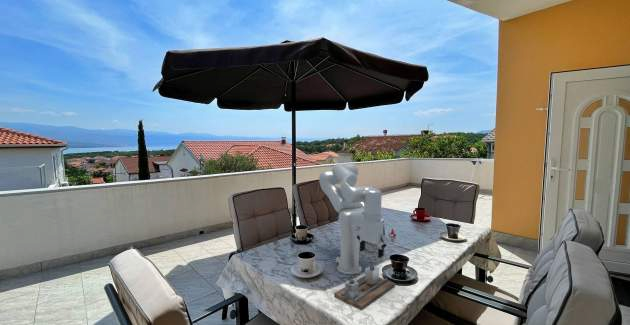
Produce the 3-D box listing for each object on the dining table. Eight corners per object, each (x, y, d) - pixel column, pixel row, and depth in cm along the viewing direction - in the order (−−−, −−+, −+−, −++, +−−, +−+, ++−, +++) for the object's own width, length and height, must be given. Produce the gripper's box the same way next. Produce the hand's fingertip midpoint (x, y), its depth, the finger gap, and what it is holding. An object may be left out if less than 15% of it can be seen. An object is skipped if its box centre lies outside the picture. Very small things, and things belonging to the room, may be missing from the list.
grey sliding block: (365, 283, 125) (365, 267, 125) (371, 279, 129) (371, 263, 128) (372, 286, 122) (372, 269, 122) (378, 282, 126) (378, 266, 126)
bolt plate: (334, 296, 118) (334, 277, 118) (368, 276, 136) (369, 260, 136) (361, 310, 108) (361, 289, 108) (394, 286, 126) (395, 268, 126)
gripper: (351, 214, 128) (350, 250, 129) (385, 222, 115) (383, 262, 117) (361, 211, 133) (360, 246, 134) (394, 219, 121) (392, 257, 122)
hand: (371, 253), depth 126 cm, fingers open, 9 cm apart
